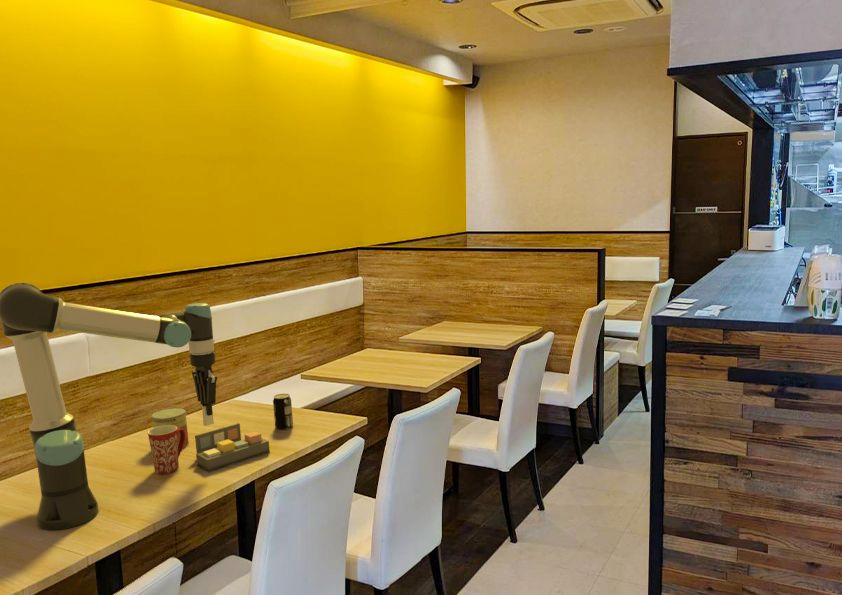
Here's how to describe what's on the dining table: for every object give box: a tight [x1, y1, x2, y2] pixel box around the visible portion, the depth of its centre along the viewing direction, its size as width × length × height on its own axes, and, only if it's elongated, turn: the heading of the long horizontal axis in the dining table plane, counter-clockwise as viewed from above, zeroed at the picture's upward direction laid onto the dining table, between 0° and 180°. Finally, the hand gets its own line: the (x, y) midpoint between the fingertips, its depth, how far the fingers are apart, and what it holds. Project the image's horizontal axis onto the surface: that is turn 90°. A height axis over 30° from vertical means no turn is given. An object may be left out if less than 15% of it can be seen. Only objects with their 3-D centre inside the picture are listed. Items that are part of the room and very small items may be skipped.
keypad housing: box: [195, 437, 270, 473], centre depth 235 cm, size 22×8×4 cm, turn 133°
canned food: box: [151, 407, 190, 450], centre depth 250 cm, size 11×11×12 cm
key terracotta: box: [244, 430, 263, 445], centre depth 239 cm, size 4×4×4 cm
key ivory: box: [203, 448, 221, 458], centre depth 229 cm, size 4×4×4 cm
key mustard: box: [217, 439, 235, 453], centre depth 232 cm, size 4×4×4 cm
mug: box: [147, 425, 185, 475], centre depth 229 cm, size 13×9×14 cm
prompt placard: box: [194, 422, 242, 454], centre depth 242 cm, size 16×1×8 cm, turn 133°
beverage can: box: [272, 393, 294, 430], centre depth 264 cm, size 7×7×12 cm
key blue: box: [234, 439, 248, 449], centre depth 236 cm, size 4×4×4 cm
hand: (208, 424), depth 228 cm, fingers closed
